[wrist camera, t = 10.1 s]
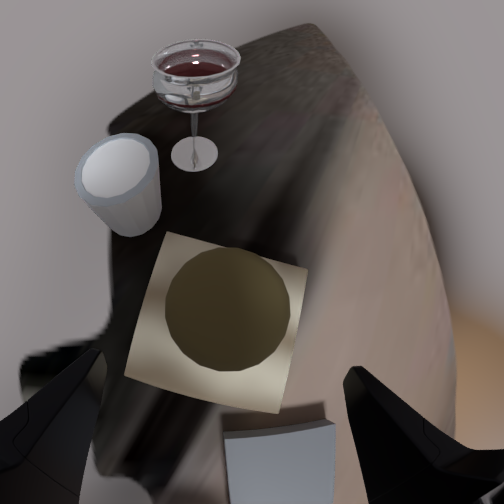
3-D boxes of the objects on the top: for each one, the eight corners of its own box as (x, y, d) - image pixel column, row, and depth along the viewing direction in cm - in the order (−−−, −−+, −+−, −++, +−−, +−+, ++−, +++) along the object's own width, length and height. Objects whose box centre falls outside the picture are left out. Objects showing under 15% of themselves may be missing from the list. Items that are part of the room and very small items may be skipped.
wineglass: (177, 125, 28) (174, 35, 17) (233, 138, 28) (251, 46, 17) (152, 170, 26) (133, 74, 14) (215, 186, 26) (226, 86, 15)
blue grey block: (322, 492, 18) (333, 502, 15) (230, 507, 16) (233, 520, 14) (323, 417, 21) (335, 423, 18) (222, 430, 19) (224, 439, 17)
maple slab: (272, 408, 20) (278, 414, 18) (130, 373, 19) (124, 375, 17) (300, 275, 24) (308, 269, 22) (169, 240, 23) (166, 231, 22)
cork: (274, 324, 21) (341, 300, 10) (220, 381, 18) (234, 420, 8) (217, 270, 21) (230, 197, 11) (161, 324, 19) (114, 299, 9)
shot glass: (88, 229, 22) (57, 191, 16) (122, 172, 25) (104, 125, 18) (149, 254, 23) (129, 218, 16) (180, 190, 25) (174, 142, 19)
